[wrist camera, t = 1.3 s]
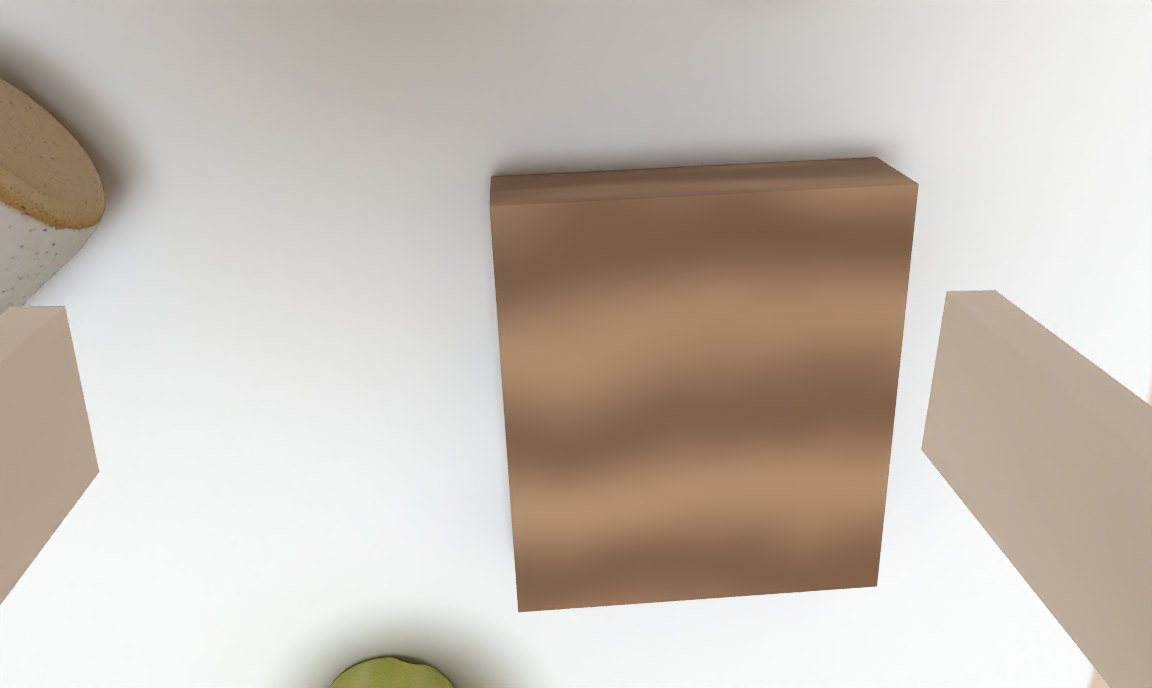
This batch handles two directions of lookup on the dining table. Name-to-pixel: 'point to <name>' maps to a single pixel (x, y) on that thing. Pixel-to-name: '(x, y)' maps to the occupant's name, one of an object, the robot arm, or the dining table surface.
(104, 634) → the dining table surface
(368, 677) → the plant pot
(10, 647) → the dining table surface
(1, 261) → the ceramic mug
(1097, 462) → the robot arm
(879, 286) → the walnut riser block
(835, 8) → the dining table surface
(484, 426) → the dining table surface
